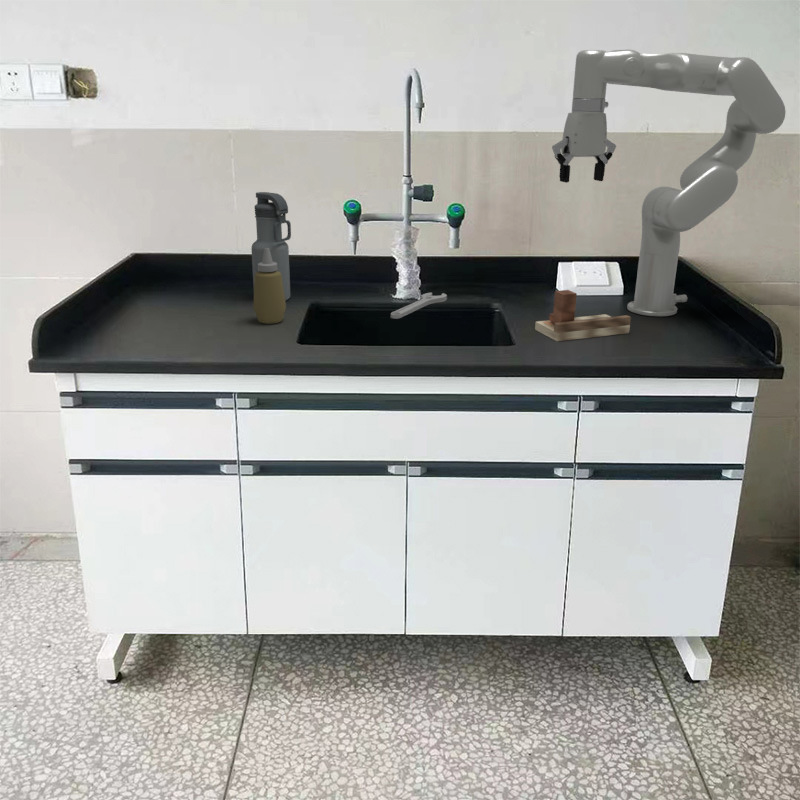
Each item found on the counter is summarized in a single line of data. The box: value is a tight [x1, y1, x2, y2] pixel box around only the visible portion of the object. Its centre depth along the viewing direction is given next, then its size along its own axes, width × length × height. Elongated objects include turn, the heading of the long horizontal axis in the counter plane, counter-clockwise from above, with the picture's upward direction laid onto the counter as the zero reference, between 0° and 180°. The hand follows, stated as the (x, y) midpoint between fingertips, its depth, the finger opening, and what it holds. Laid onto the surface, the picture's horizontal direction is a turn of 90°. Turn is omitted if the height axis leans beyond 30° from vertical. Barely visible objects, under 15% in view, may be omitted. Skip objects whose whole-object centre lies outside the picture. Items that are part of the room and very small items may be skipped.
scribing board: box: [534, 314, 632, 342], centre depth 196 cm, size 20×10×4 cm, turn 111°
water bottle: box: [250, 191, 292, 302], centre depth 217 cm, size 10×10×28 cm
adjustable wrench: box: [390, 292, 448, 320], centre depth 216 cm, size 25×6×2 cm, turn 145°
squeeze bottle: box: [252, 248, 287, 325], centre depth 199 cm, size 8×8×18 cm
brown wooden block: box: [548, 289, 577, 325], centre depth 193 cm, size 4×6×8 cm, turn 21°
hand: (581, 181), depth 200 cm, fingers open, 9 cm apart
